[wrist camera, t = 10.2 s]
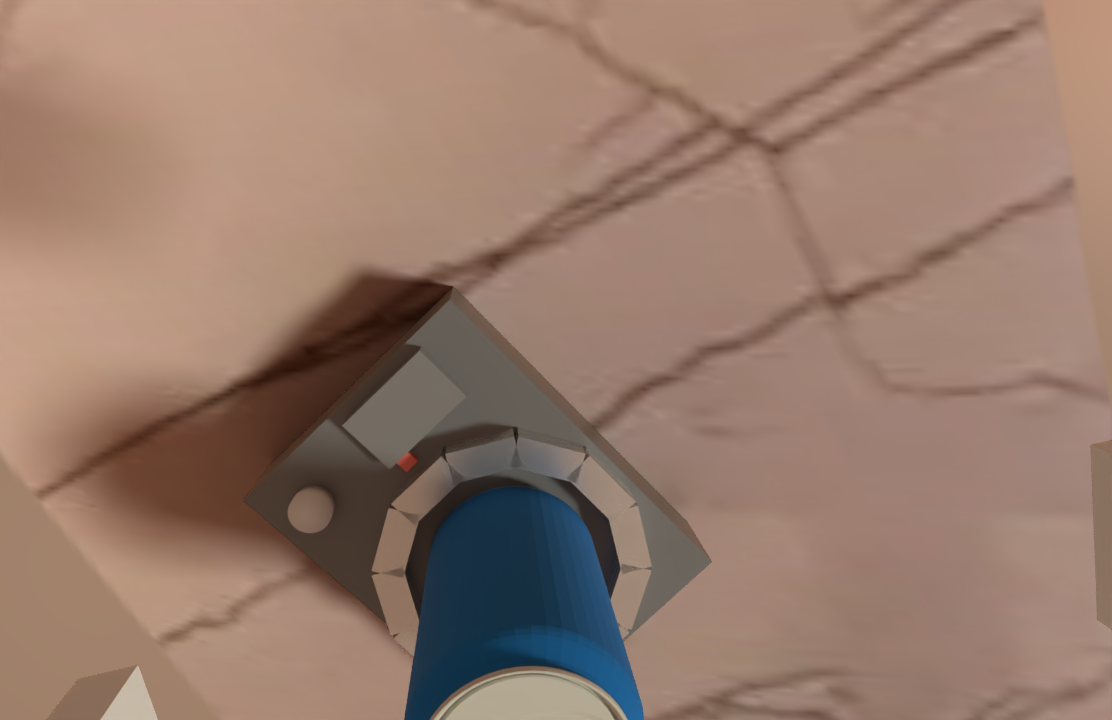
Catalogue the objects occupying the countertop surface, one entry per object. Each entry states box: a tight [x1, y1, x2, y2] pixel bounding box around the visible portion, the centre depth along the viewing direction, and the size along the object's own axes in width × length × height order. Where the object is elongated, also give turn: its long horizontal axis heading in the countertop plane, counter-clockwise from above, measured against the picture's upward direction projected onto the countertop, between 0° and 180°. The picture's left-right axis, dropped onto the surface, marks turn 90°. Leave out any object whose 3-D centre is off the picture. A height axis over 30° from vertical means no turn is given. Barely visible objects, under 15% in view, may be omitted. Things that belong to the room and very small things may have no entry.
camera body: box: [243, 287, 712, 642], centre depth 33 cm, size 15×11×5 cm
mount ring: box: [372, 427, 652, 656], centre depth 31 cm, size 10×10×1 cm
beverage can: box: [404, 486, 644, 720], centre depth 26 cm, size 6×6×12 cm
